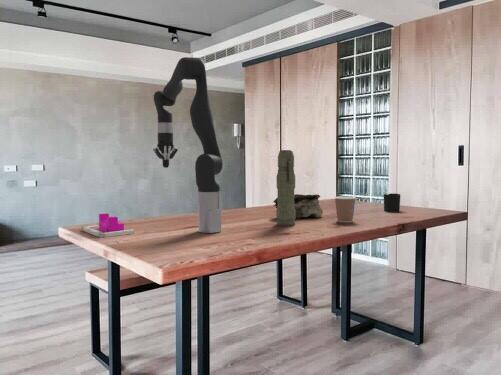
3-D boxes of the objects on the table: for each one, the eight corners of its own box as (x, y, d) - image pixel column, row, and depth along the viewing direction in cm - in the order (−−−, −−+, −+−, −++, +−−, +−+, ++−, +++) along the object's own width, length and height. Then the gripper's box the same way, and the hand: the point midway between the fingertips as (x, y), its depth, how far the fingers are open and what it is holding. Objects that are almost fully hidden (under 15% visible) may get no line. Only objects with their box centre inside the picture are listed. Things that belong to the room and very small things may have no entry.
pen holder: (401, 212, 242) (401, 194, 242) (384, 211, 244) (384, 194, 243) (398, 210, 252) (398, 193, 251) (382, 209, 253) (382, 193, 253)
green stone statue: (284, 227, 191) (284, 149, 189) (271, 223, 202) (271, 150, 200) (300, 225, 195) (300, 150, 193) (287, 222, 206) (287, 150, 203)
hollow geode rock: (274, 228, 218) (281, 209, 207) (268, 209, 226) (274, 190, 215) (323, 223, 226) (332, 205, 215) (315, 205, 234) (323, 187, 223)
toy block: (124, 234, 176) (123, 216, 176) (109, 235, 173) (108, 217, 172) (113, 229, 188) (113, 212, 188) (99, 230, 185) (98, 213, 184)
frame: (133, 233, 176) (133, 230, 176) (100, 237, 167) (100, 233, 167) (112, 226, 194) (112, 223, 194) (81, 230, 185) (81, 226, 185)
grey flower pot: (357, 222, 202) (358, 198, 201) (336, 222, 203) (336, 198, 202) (353, 219, 213) (353, 196, 212) (332, 219, 213) (332, 196, 212)
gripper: (156, 131, 200) (157, 167, 201) (180, 132, 208) (181, 167, 209) (149, 132, 206) (150, 167, 207) (173, 133, 214) (174, 167, 215)
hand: (165, 167), depth 208 cm, fingers closed
